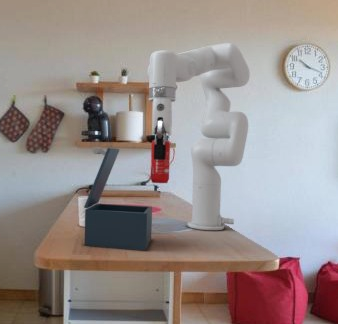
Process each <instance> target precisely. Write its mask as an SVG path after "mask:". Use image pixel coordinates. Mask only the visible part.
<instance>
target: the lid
mask: <svg viewBox="0 0 338 324" xmlns="http://www.w3.org/2000/svg"><path fill="white" fill-rule="evenodd" d="M120 151H121V150H120V148H116V147H115V148H114V147H107V149H106V151H104V148H102V147H101V146H100V147H99V146H94V147H93V149H92V153H93V154H95V155H102V156H103V159H102V161H101V164H100V166H99V168H98V171H97V173H96V177H95V179H94V181H93V184H92V186H91V188H90V191H89V194H88V195H87V196H88V199H87V201H86V204H85V206H84V208H89V207H90V206H92V205H94V204H96V203H98V202H99V200H100V201H101V198H102V195H103V193H104V190H105V187H106V185H107V183H108V179H109V177H110V174H111V172H112V170H113V167H114V165H115V162H116V159H117V157H118V155H119V152H120Z"/></svg>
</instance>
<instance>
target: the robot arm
mask: <svg viewBox="0 0 338 324" xmlns="http://www.w3.org/2000/svg"><path fill="white" fill-rule="evenodd" d="M146 72H147V77H148V102H150V103H151V102H152V112H151V113H152V115H151V116H152V119H151V121H152V122H151V123H152V124H151V125H152V134H153V135H154V140H155V145H154V159H157V160H165V158H166V145H165V141H167V136H169V137H170V136H172V125H173V124H172V123H173V121H172V120H173V107H172V106H173V104H172V103H174V102H175V101H176V96H177V95H176V94H177V93H176V92H177V91H176V90H177V83H183V82H188V81H190V80H191V79H193V78H195V77H198V76H200V83H201V86H202V90H203V93H204V96H205V101H206V105H205V110H204V113H203V117H202V121H201V127H200V131H201V134H202V136H204V137H205V138H200V139H197V140H195V141H194V142H193V143H192V145H191V148H190V154H191V155H190V156H191V161H192V162H191V163H192V205H191V207H192V209H191V221H188V222H187V223H186V224H187V225H186V226H187V227H188V228H189V229H194V230H202V231H222V230H224V229H225V225H234V224H235V219H234V218H230V217H224V216H223V217H222V214H221V196H222V194H221V193H222V178H221V175H220V173H219V171H218V170H217V169H216V167H237V166H239V165H240V164H241V163H242V162H243V158H244V153H245V148H246V144H247V138H248V133H249V119H248V116H247V115H246V113H244V112H242V111H230V110H231V105H232V104H231V100H230V99H229V97H228V96H227V95H226V94H225V93H224V92H223V91H222V90H221V89H231V88H233V89H234V88H241V87H245V86H246V85H247V84H248V83H249V81H250V77H251V75H250V68H249V66H248V63H247V61H246V59H245V58H244V55H243V53H242V52H241V50H240V48H239V47H238V46H237V45H236V44H235V43H233V42H224V43H218V44H211V45H206V46H202V47H198V48H194V49H191V50H186V51H183V52H179V53H175V52H174V51H172V50H166V49H162V50H156V51H153V52H152V53H151V54H150V57H149V64H148V66H147V71H146Z"/></svg>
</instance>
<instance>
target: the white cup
mask: <svg viewBox="0 0 338 324" xmlns="http://www.w3.org/2000/svg"><path fill="white" fill-rule="evenodd" d="M88 196H89V195H82V196H78V197H77V205H78V207H77V208H78V209H77V210H78V226H80V227H83V228H85V210H86V209H88V208H84V206H85V204H86V201H87V199H88ZM96 204H101V199H100V200H99V202H98V203H96ZM96 204H94V205H96ZM94 205H92V206H94ZM92 206H90V207H92ZM90 207H89V208H90Z"/></svg>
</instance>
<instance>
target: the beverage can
mask: <svg viewBox="0 0 338 324" xmlns="http://www.w3.org/2000/svg"><path fill="white" fill-rule="evenodd" d="M154 145H155V139H154V140H152V142H151V147H150V148H151V149H150V181H151V183H152V184H168V183H169V180H170V162H171V161H170V159H171V158H170V157H171V156H170V155H171V142H170V140H166V141H165V145H166V158H165V160H157V159H154Z"/></svg>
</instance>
